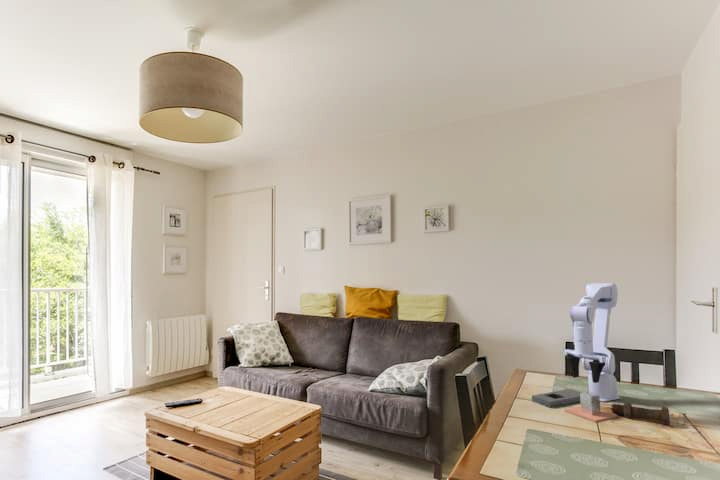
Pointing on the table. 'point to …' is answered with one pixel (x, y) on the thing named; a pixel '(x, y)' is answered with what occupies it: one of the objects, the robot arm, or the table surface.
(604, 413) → the mat
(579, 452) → the table surface
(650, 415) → the bolt
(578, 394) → the block
